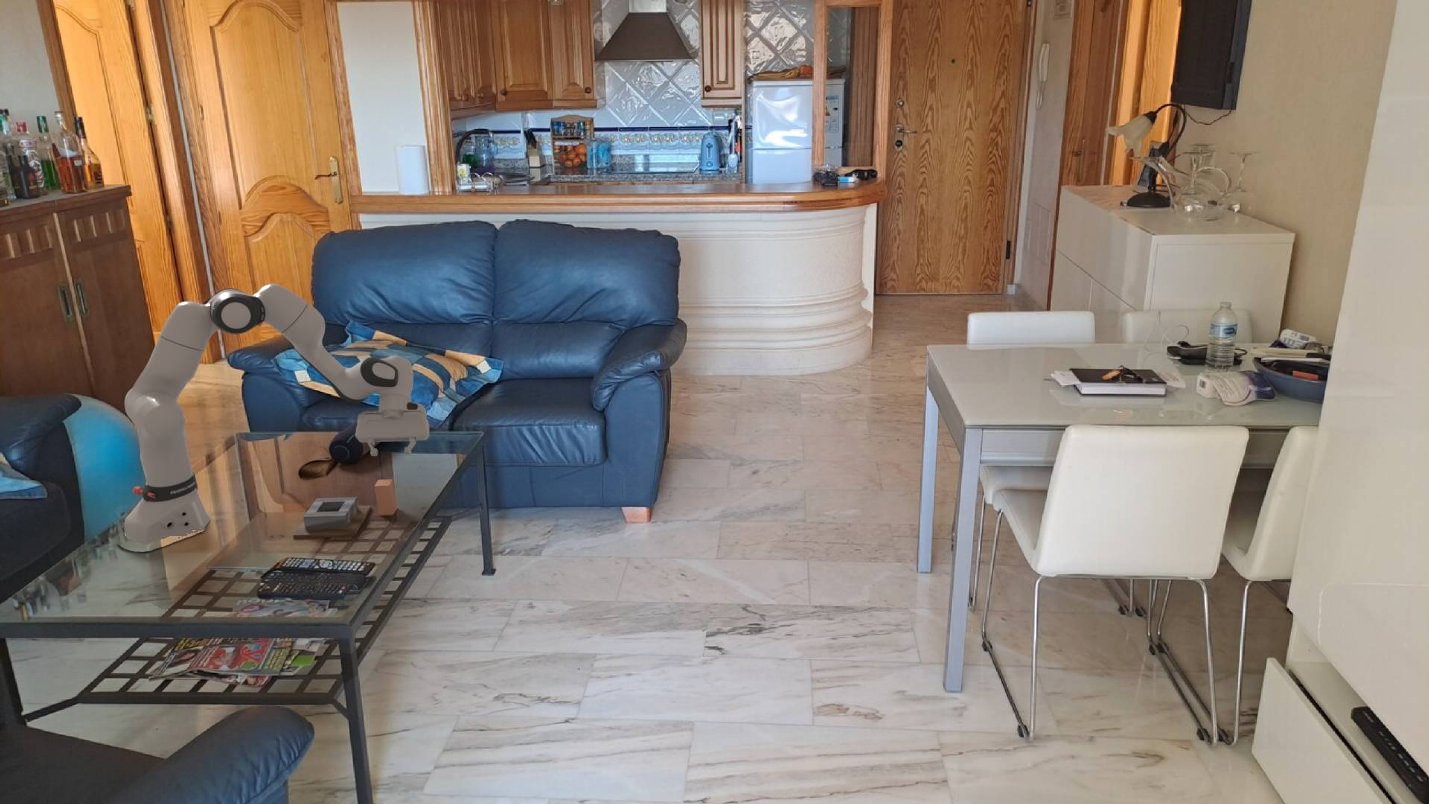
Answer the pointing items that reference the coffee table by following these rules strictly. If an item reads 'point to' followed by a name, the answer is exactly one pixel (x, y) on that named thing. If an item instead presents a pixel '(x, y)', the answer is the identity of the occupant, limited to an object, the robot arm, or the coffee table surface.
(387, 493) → the post
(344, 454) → the portable speaker
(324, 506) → the well
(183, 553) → the coffee table surface
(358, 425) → the robot arm
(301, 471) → the sunglasses case
